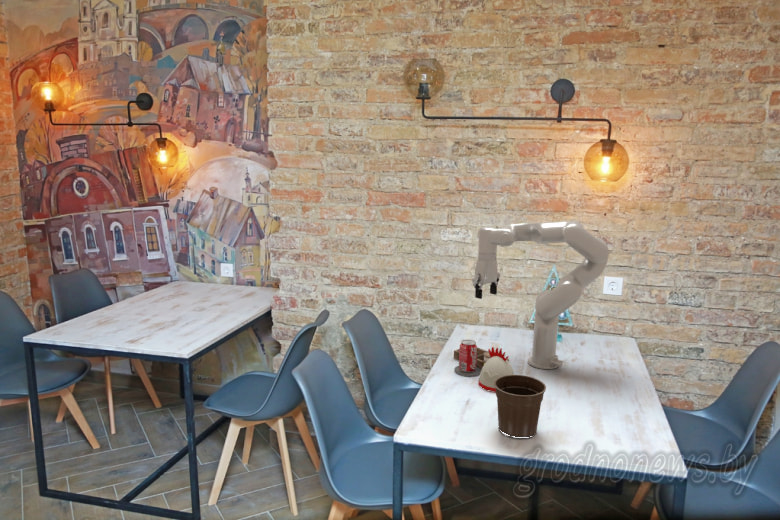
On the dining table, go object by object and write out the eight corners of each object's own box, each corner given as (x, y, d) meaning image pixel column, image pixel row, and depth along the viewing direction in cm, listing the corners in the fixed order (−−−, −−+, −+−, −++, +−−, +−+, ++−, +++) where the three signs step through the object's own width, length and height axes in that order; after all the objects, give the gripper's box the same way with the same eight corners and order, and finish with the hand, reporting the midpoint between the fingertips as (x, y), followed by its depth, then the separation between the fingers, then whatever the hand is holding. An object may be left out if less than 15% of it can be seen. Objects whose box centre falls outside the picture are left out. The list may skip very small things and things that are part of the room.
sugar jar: (498, 366, 249) (499, 354, 248) (490, 370, 246) (490, 357, 245) (488, 363, 253) (489, 350, 252) (480, 365, 250) (480, 353, 249)
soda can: (476, 367, 247) (477, 339, 244) (475, 374, 240) (477, 345, 237) (459, 366, 248) (460, 338, 245) (457, 372, 241) (459, 344, 239)
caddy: (508, 367, 249) (509, 359, 248) (490, 373, 242) (491, 365, 241) (471, 352, 264) (471, 345, 264) (453, 358, 258) (453, 350, 257)
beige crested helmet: (488, 375, 241) (490, 339, 238) (520, 383, 233) (523, 346, 230) (472, 386, 230) (474, 349, 227) (505, 395, 222) (508, 357, 219)
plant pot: (510, 447, 186) (513, 398, 182) (482, 424, 200) (484, 378, 197) (552, 437, 192) (556, 390, 189) (522, 415, 206) (525, 371, 203)
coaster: (487, 372, 243) (487, 371, 243) (468, 378, 237) (468, 377, 236) (467, 364, 252) (467, 362, 252) (448, 370, 245) (448, 369, 245)
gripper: (493, 252, 259) (491, 290, 262) (466, 257, 247) (465, 298, 251) (507, 254, 253) (505, 294, 257) (481, 260, 242) (479, 301, 245)
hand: (485, 296), depth 254 cm, fingers open, 9 cm apart
